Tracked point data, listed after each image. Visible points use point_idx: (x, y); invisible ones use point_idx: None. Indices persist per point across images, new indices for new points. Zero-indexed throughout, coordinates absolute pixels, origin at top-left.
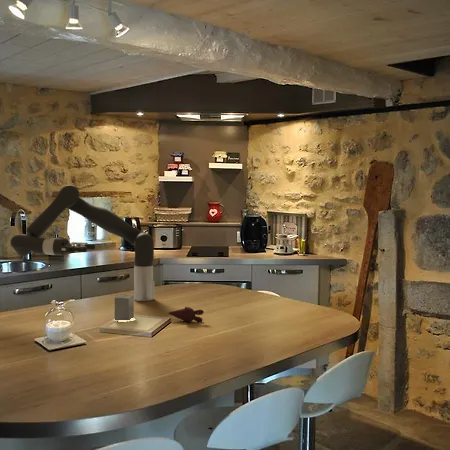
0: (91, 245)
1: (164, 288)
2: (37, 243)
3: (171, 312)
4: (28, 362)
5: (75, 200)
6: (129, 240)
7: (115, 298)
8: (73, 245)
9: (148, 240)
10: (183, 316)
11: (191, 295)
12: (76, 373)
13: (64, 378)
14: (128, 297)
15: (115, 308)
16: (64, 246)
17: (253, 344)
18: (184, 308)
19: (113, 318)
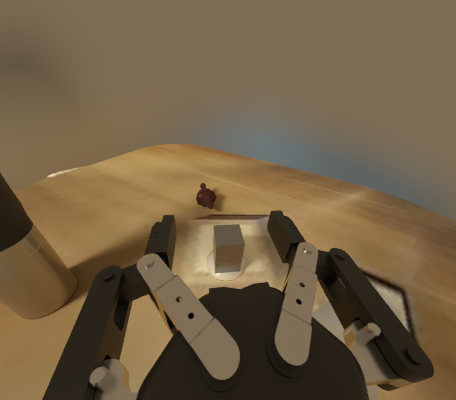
0: (171, 230)
1: None
2: None
3: (211, 204)
4: (447, 291)
5: None
6: None
7: (244, 244)
8: (312, 273)
9: None
10: (215, 197)
11: (45, 227)
12: (394, 232)
13: (410, 235)
14: (233, 226)
15: (242, 256)
16: (397, 334)
17: (245, 168)
18: (206, 192)
19: (228, 279)
